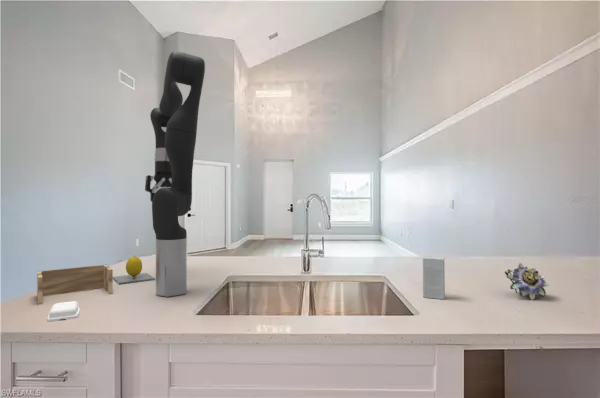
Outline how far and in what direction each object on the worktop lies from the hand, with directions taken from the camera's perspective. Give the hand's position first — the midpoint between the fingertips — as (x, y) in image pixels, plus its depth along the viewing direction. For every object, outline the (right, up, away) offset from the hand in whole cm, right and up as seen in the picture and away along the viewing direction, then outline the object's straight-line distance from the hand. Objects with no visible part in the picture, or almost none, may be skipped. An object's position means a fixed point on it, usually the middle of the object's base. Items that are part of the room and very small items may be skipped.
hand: (165, 203), depth 139 cm
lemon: (-10, -28, -5) cm, 30 cm away
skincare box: (+92, -28, -29) cm, 101 cm away
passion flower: (+121, -28, -28) cm, 127 cm away
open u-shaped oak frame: (-18, -28, -26) cm, 43 cm away
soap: (-9, -29, -46) cm, 55 cm away
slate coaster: (-10, -28, -5) cm, 30 cm away
